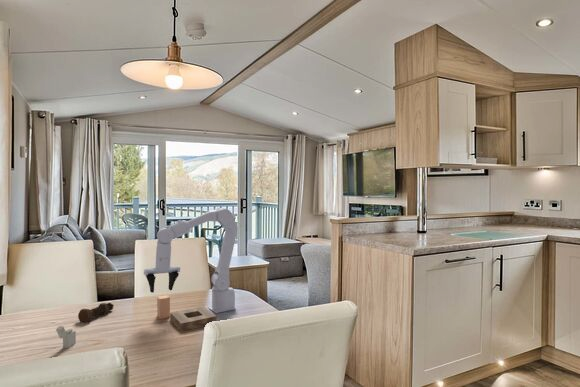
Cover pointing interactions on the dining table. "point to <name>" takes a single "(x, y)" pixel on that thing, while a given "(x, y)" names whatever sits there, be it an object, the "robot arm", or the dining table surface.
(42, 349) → the dining table surface
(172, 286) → the robot arm
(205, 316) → the slot block
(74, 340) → the grey thin upright piece
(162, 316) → the peg
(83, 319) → the dark brown elongated piece
